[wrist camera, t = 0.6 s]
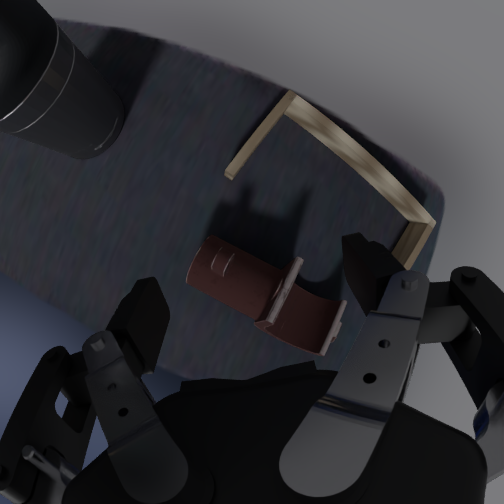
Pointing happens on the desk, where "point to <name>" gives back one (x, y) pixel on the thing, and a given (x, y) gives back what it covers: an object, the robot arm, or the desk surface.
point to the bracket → (266, 295)
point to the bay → (357, 160)
